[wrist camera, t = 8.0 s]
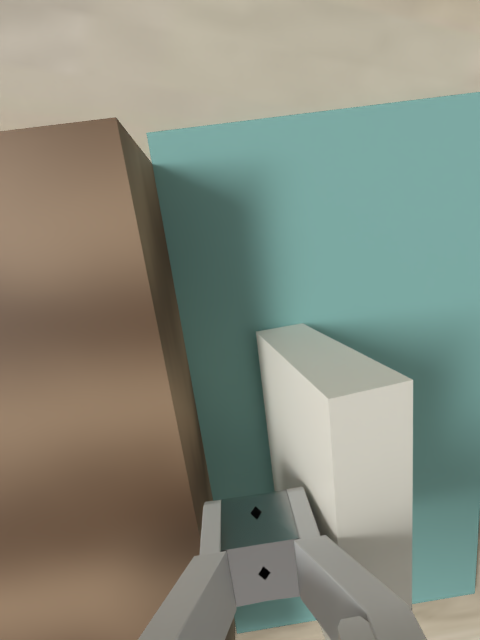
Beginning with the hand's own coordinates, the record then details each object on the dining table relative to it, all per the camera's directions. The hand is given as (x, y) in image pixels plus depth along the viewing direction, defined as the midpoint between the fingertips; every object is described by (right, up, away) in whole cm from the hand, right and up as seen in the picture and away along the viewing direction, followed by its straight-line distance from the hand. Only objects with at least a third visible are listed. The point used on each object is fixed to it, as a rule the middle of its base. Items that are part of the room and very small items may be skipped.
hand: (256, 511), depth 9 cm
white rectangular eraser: (+2, +1, +1) cm, 3 cm away
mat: (+4, +2, +5) cm, 6 cm away
